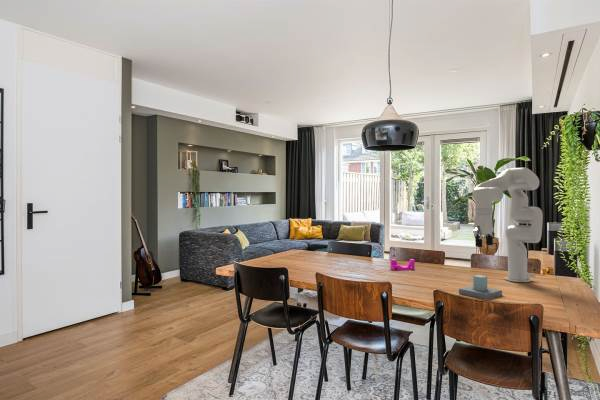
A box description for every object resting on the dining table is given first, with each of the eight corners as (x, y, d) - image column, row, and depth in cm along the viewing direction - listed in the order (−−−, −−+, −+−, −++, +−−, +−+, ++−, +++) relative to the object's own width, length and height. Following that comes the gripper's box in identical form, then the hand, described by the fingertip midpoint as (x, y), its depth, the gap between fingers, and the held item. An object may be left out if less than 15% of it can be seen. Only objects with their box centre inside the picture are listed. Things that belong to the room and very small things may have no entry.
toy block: (393, 272, 244) (393, 260, 244) (390, 270, 250) (390, 259, 250) (415, 272, 244) (415, 260, 244) (412, 270, 250) (412, 259, 250)
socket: (474, 289, 193) (474, 285, 193) (502, 295, 181) (502, 290, 181) (458, 293, 185) (458, 288, 185) (486, 299, 173) (486, 294, 173)
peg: (478, 293, 186) (478, 275, 186) (487, 294, 182) (487, 276, 182) (473, 294, 184) (473, 276, 184) (482, 296, 180) (482, 277, 180)
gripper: (485, 211, 196) (486, 243, 196) (466, 212, 186) (467, 246, 187) (500, 211, 190) (500, 245, 190) (481, 213, 180) (482, 248, 180)
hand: (484, 245), depth 188 cm, fingers open, 9 cm apart
